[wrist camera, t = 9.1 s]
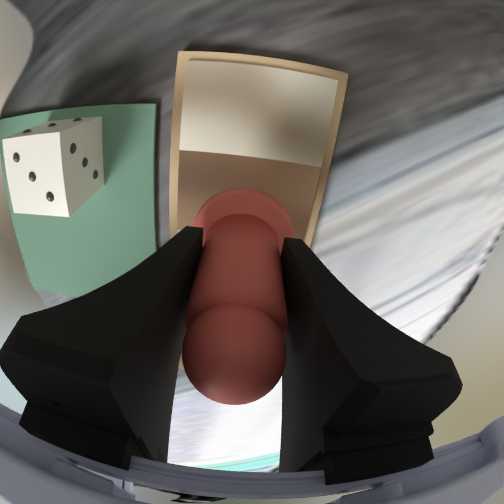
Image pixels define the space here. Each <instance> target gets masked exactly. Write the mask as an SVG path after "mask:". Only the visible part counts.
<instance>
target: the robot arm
mask: <svg viewBox="0 0 504 504" xmlns="http://www.w3.org/2000/svg"><path fill="white" fill-rule="evenodd" d="M203 229H204V228H202V227H193V226H186V227H184V228H183V229H182V230H181V231H179V232H178V233H177V234H176V235H175V236H174V237H172V238H171V239H170V240H169V241H168V242H167V243H165V244H164V245H163V246H162V247H160V248H159V249H158V250H157V251H156V252H154V253H153V254H152V255H150V256H149V257H148V258H146V259H145V260H144V261H142V262H141V263H140V264H138V265H137V266H135V267H134V268H132V269H131V270H129V271H128V272H126V273H124V274H123V275H121V276H119V277H118V278H116V279H114V280H113V281H111V282H109V283H107V284H105V285H103V286H101V287H99V288H97V289H95V290H93V291H91V292H89V293H87V294H85V295H82V296H80V297H77V298H75V299H73V300H70V301H68V302H65V303H62V304H60V305H57V306H54V307H51V308H48V309H44V310H41V311H38V312H34V313H31V314H28V315H24V316H21V318H20V319H19V321H18V322H17V323H16V325H15V327H14V328H13V330H12V332H11V333H10V335H9V336H8V338H7V340H6V341H5V343H4V345H3V346H2V348H1V350H0V366H1V369H2V370H3V372H4V373H5V375H6V376H7V378H8V379H9V380H10V381H11V383H12V384H13V385H14V386H15V387H16V389H17V390H18V391H19V392H20V393H21V394H22V395H23V397H24V398H25V399H26V400H27V404H26V406H25V409H24V411H23V414H22V415H21V414H19V413H17V412H15V411H13V410H11V409H9V408H8V407H6V406H4V405H2V404H0V497H1V498H2V499H3V500H5V501H6V502H8V503H9V504H149V503H145V502H140V501H136V500H135V495H134V494H133V483H136V484H140V485H144V486H148V487H153V488H158V489H163V490H168V491H174V492H180V493H186V494H193V495H201V496H211V497H222V498H237V499H289V498H306V497H317V496H325V495H333V494H341V493H347V492H354V491H359V490H364V489H368V490H365V491H361V492H357V493H353V494H348V495H344V496H342V497H341V498H339V499H338V500H336V501H333V502H330V503H327V504H483V503H484V502H485V501H487V500H488V499H490V498H491V497H492V496H493V495H495V494H496V493H497V492H498V491H500V490H501V489H502V488H504V416H502V417H500V418H498V419H496V420H494V421H493V422H491V423H490V424H488V425H487V426H486V427H484V428H483V429H482V430H481V431H480V432H479V433H477V434H474V435H472V436H469V437H467V438H464V439H461V440H459V441H456V442H453V443H450V444H447V445H444V446H441V447H438V448H435V449H432V448H431V444H430V440H429V436H430V435H432V434H433V432H434V430H433V426H432V423H431V422H432V421H433V420H434V419H435V418H436V417H438V416H439V415H440V414H441V413H442V412H443V411H445V410H446V409H447V408H448V407H449V406H450V405H451V404H452V403H453V402H454V401H455V400H456V399H457V397H458V396H459V394H460V392H461V390H462V385H463V384H462V382H461V379H460V377H459V374H458V372H457V370H456V368H455V366H454V363H453V361H452V359H451V358H450V357H448V356H446V355H444V354H442V353H440V352H438V351H436V350H434V349H432V348H430V347H428V346H426V345H424V344H422V343H420V342H418V341H417V340H415V339H413V338H411V337H410V336H408V335H406V334H405V333H403V332H402V331H400V330H398V329H397V328H395V327H394V326H392V325H391V324H389V323H388V322H387V321H385V320H384V319H382V318H381V317H380V316H378V315H377V314H376V313H374V312H373V311H372V310H370V309H369V308H368V307H367V306H366V305H364V304H363V303H362V302H361V301H360V300H359V299H357V298H356V297H355V296H354V295H353V294H352V293H351V292H350V291H349V290H348V289H347V288H346V287H345V286H344V285H343V284H342V283H341V282H340V281H339V280H337V278H336V277H335V276H334V275H333V274H332V273H331V272H330V271H329V270H328V269H327V268H326V267H325V265H324V264H323V263H322V262H321V261H320V260H319V259H318V257H317V256H316V255H315V254H314V253H313V251H312V250H311V249H310V248H309V247H308V246H307V244H306V243H305V242H304V241H303V240H302V239H296V238H288V237H284V242H283V247H282V251H281V256H280V257H281V265H282V274H283V283H284V292H285V301H286V310H287V320H288V329H287V333H286V335H285V337H284V340H285V345H286V364H285V368H284V371H283V374H282V428H281V449H280V463H279V472H278V473H265V472H237V471H223V470H212V469H203V468H195V467H188V466H181V465H175V464H169V463H167V456H168V444H169V432H170V423H171V414H172V406H173V399H174V392H175V385H176V378H177V372H178V366H179V360H180V356H181V351H182V344H183V340H184V337H185V334H186V332H187V330H186V327H185V314H186V310H187V306H188V302H189V298H190V294H191V290H192V286H193V282H194V278H195V275H196V271H197V267H198V263H199V259H200V256H201V252H202V248H203ZM369 488H372V489H369Z"/></svg>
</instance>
